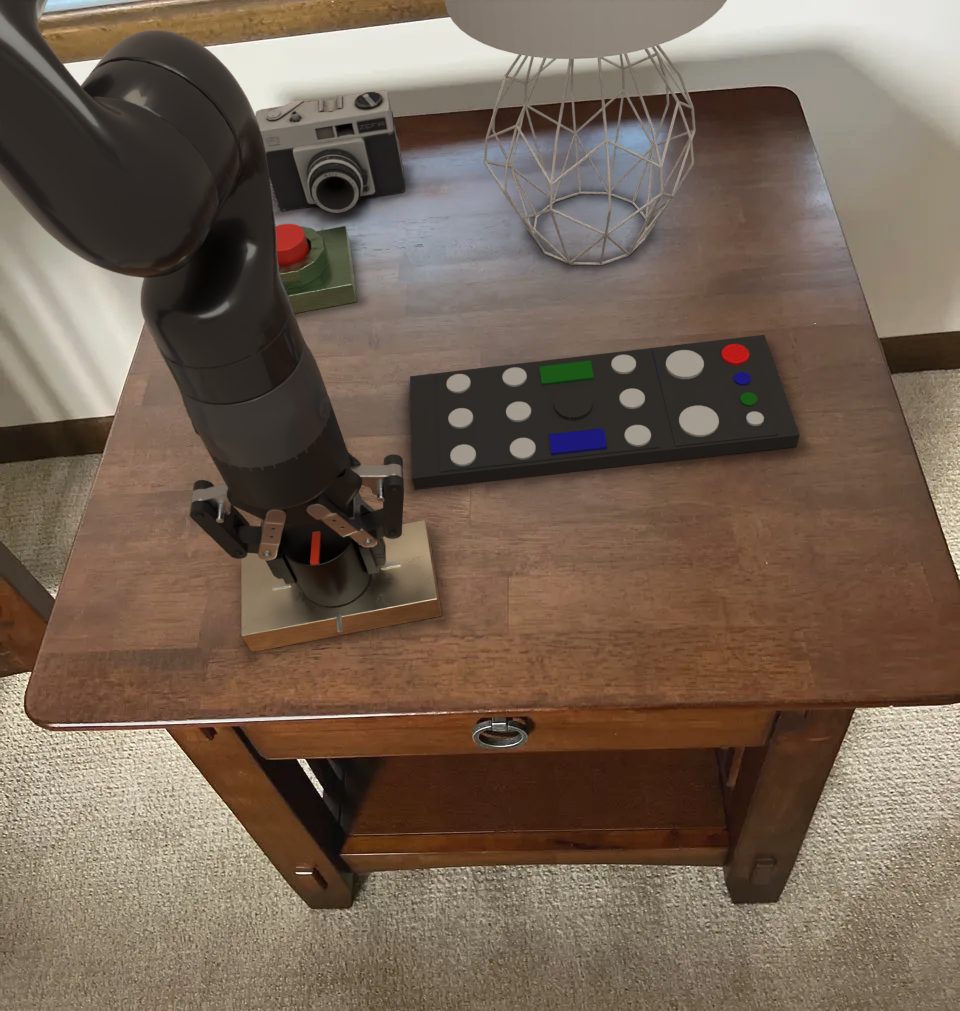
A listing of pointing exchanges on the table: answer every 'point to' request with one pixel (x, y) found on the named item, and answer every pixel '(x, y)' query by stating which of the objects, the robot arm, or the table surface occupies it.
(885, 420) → the table surface
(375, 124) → the camera
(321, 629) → the panel
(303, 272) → the box
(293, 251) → the button
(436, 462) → the remote control
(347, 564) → the hob knob
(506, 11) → the table lamp
